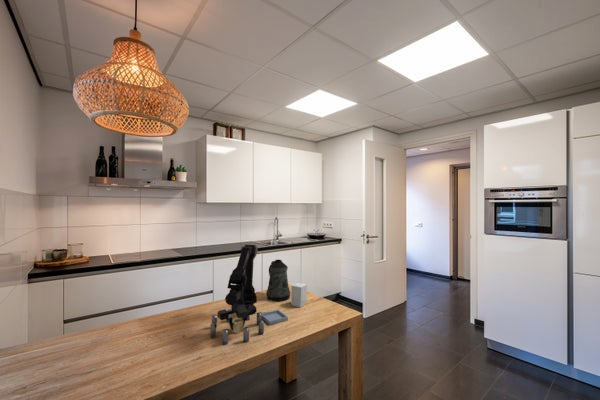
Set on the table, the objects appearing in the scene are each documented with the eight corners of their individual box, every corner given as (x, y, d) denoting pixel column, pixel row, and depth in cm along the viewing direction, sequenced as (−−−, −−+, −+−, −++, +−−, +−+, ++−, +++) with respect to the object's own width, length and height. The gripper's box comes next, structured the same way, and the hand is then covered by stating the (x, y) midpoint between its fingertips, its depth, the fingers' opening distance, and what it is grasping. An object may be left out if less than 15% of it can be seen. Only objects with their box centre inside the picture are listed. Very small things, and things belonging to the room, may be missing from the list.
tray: (260, 317, 150) (260, 313, 150) (278, 313, 156) (278, 309, 156) (269, 325, 140) (269, 321, 140) (287, 320, 147) (287, 316, 147)
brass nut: (230, 329, 136) (230, 319, 136) (239, 326, 138) (240, 317, 138) (234, 334, 131) (234, 324, 131) (244, 331, 133) (244, 321, 133)
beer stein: (282, 303, 170) (282, 264, 170) (257, 298, 179) (258, 261, 179) (294, 295, 184) (295, 259, 184) (271, 290, 194) (272, 256, 194)
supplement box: (306, 304, 170) (307, 284, 170) (300, 307, 164) (301, 287, 164) (297, 301, 174) (297, 282, 174) (290, 305, 168) (291, 285, 168)
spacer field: (203, 326, 138) (203, 314, 138) (251, 314, 153) (251, 304, 153) (218, 350, 116) (218, 337, 116) (272, 334, 131) (272, 322, 131)
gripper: (224, 306, 123) (223, 340, 123) (261, 299, 133) (260, 330, 133) (217, 299, 132) (216, 330, 132) (252, 292, 142) (252, 321, 142)
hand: (237, 328), depth 135 cm, fingers closed on brass nut, 5 cm apart
